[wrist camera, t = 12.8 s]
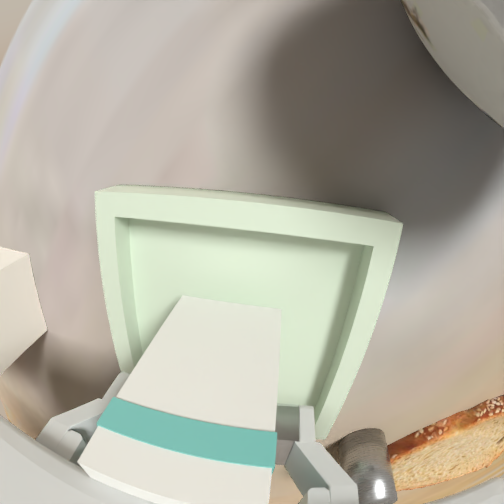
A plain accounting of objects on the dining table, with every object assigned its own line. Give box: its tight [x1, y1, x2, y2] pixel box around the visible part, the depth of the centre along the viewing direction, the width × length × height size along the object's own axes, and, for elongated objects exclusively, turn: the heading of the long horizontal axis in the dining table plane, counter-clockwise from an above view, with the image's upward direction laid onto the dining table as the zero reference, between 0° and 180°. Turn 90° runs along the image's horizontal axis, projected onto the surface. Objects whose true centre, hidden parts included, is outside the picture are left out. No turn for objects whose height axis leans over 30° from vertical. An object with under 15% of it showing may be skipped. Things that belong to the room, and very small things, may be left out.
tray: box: [95, 185, 403, 439], centre depth 13 cm, size 13×12×2 cm
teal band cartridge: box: [77, 295, 282, 504], centre depth 8 cm, size 5×4×8 cm
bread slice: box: [387, 395, 504, 491], centre depth 15 cm, size 18×18×4 cm
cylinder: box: [338, 428, 398, 504], centre depth 14 cm, size 4×4×6 cm
